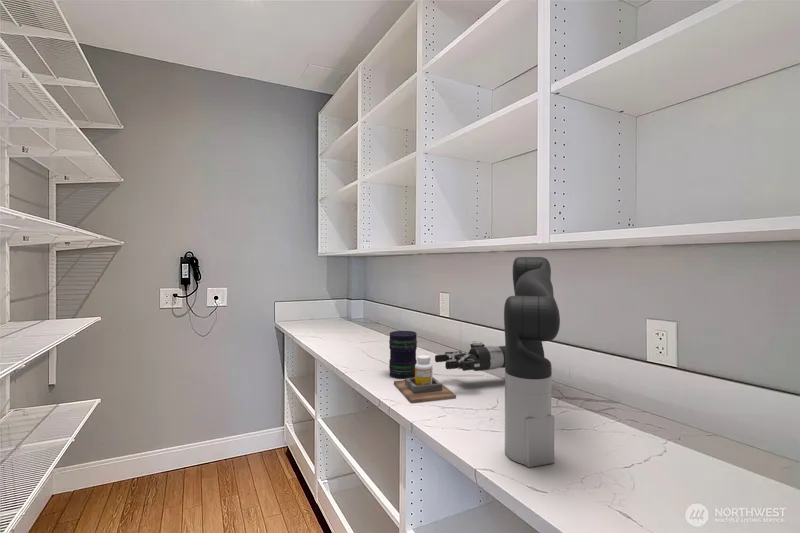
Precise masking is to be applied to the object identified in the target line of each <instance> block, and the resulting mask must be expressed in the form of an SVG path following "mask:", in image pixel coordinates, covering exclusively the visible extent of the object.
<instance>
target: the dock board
mask: <svg viewBox="0 0 800 533" xmlns="http://www.w3.org/2000/svg"><path fill="white" fill-rule="evenodd" d="M393 385H394V386H395V387H396V388H397V390H398V391H399V392H400V393H401V394H402V395H403V396H404V397H405V399H407V400H408V402H409V403H410V404H417V403H426V402H435V401H443V400H452V399H457V395H456V393H454V392H453V391H452V390H450V389H449V388H448V387H447V386H445V385H444V384H443V383H441V382H440V381H439V380H437V378H435V377H433V376H432V384H429V385H419V386H416V385H415V377H414V378H405V379H400V380H393Z"/></svg>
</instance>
